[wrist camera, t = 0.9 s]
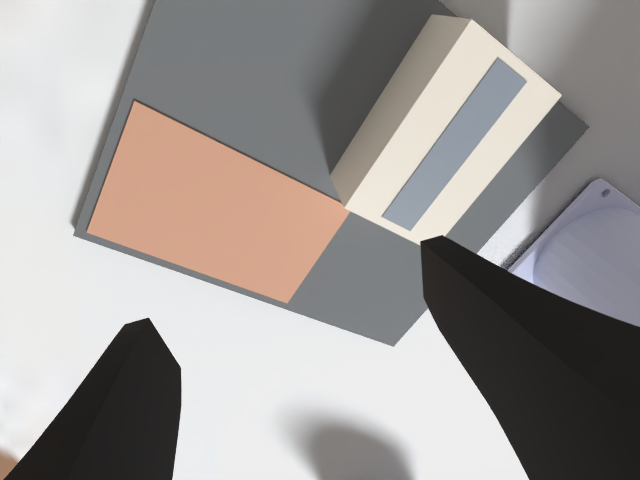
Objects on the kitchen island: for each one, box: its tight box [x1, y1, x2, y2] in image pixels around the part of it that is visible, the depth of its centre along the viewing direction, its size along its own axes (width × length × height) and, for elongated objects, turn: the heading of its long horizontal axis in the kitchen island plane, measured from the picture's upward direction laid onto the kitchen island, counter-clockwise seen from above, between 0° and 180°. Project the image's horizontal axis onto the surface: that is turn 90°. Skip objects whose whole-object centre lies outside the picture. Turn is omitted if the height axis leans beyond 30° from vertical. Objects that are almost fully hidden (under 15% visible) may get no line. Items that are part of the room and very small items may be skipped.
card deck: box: [330, 14, 562, 245], centre depth 17 cm, size 5×8×4 cm, turn 148°
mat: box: [73, 0, 589, 347], centre depth 20 cm, size 20×17×1 cm
